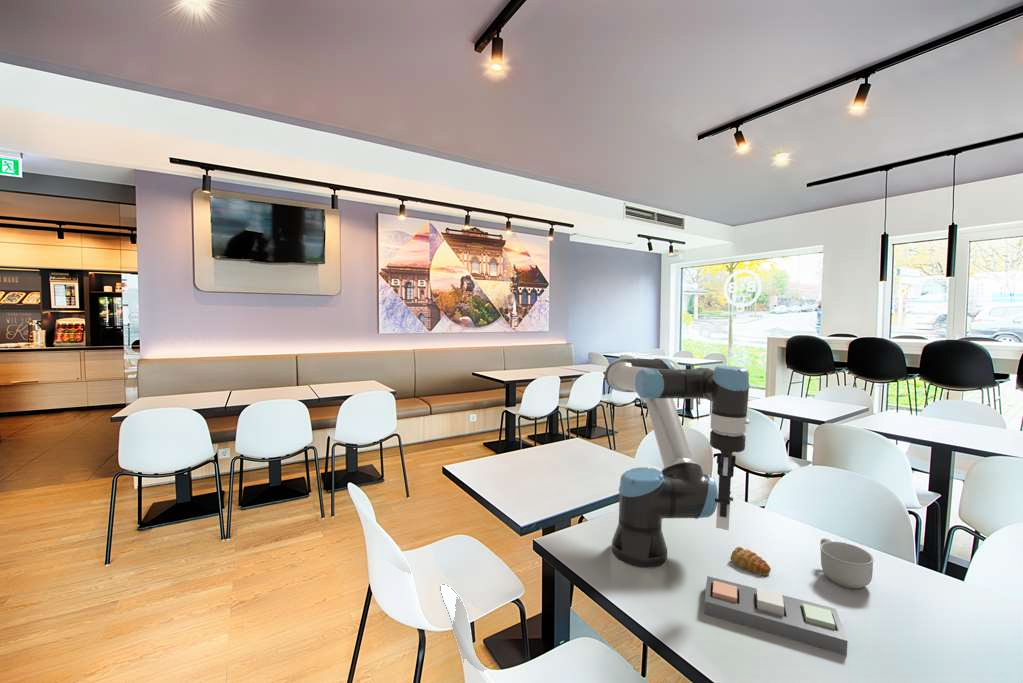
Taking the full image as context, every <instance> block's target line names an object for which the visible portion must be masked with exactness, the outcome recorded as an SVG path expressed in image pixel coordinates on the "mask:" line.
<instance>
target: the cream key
mask: <svg viewBox="0 0 1023 683" xmlns="http://www.w3.org/2000/svg"><path fill="white" fill-rule="evenodd" d="M756 588H757V590H756V602H757V609H759V610H762V611H766V612H770V613H773V614H777V615H781V616H784V602H783V597H782V595H783V594H782V593H778V592H775V591H770V590H767V589H764V588H759V587H756Z"/></svg>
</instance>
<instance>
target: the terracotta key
mask: <svg viewBox="0 0 1023 683" xmlns="http://www.w3.org/2000/svg"><path fill="white" fill-rule="evenodd" d="M713 597H715V598H718V599H722V600H726V601H729V602H733V603H737V586H733V585H729V584H725V583H722V582H718V581H713Z"/></svg>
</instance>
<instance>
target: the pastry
mask: <svg viewBox="0 0 1023 683" xmlns="http://www.w3.org/2000/svg"><path fill="white" fill-rule="evenodd" d="M730 560H731V562H732V563H733V564H734V565H736V566H738V568H741V569H742V570H744V571H747V572H750V573H751V574H756V575H761V576H767V575H769V574H770V573H771V570H772V568H771V566H770V565H769V564H768V563H767V561H766V560H764V559H763V558H762V557H761V556H758V554H757V553H756V552H753V551H752V550H750V549H744V548H743V547H742V546H737V547H735V549H733V551H732V552H731V555H730Z"/></svg>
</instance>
